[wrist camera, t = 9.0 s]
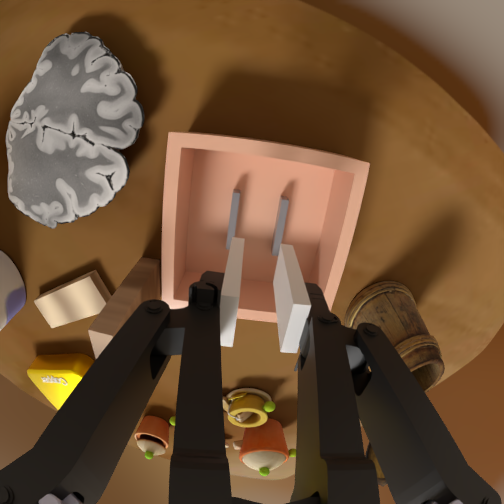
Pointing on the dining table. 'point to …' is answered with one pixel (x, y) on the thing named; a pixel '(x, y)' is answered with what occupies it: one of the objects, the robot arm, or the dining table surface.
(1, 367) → the dining table surface
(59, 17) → the dining table surface
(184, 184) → the pink open box
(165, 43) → the dining table surface
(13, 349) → the dining table surface
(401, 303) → the wooden mug
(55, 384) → the element tile
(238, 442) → the toy tea set
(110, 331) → the tall beige block
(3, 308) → the container
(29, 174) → the brain slice
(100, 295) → the beige wooden plank
